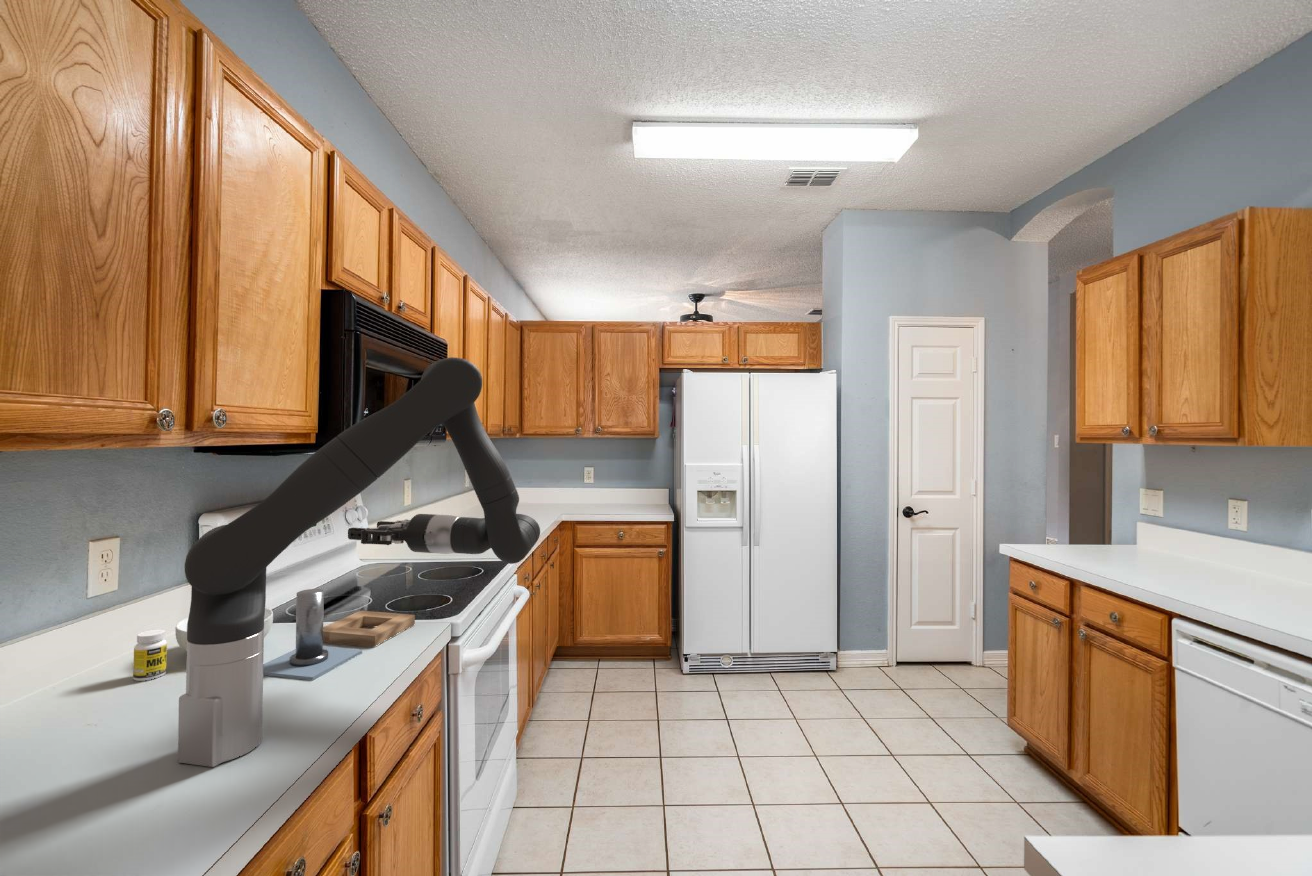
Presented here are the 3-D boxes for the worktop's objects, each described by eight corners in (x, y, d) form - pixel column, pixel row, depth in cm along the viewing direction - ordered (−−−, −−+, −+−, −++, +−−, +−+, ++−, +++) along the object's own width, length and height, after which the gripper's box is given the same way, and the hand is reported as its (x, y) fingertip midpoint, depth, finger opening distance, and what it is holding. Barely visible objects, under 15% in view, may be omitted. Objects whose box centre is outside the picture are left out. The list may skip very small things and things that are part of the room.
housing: (374, 647, 126) (375, 636, 126) (315, 641, 128) (315, 630, 128) (414, 625, 141) (414, 615, 141) (360, 620, 143) (360, 610, 143)
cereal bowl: (155, 658, 117) (155, 624, 117) (237, 632, 133) (237, 602, 133) (212, 671, 112) (212, 635, 112) (290, 642, 127) (291, 611, 127)
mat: (312, 680, 109) (312, 677, 109) (249, 673, 111) (249, 670, 111) (362, 652, 122) (362, 650, 122) (305, 647, 125) (305, 644, 125)
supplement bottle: (146, 683, 106) (147, 638, 106) (126, 680, 107) (127, 635, 107) (172, 672, 111) (173, 629, 111) (153, 670, 112) (154, 627, 112)
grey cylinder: (311, 668, 113) (312, 597, 113) (281, 665, 114) (282, 595, 114) (335, 655, 119) (337, 588, 119) (307, 652, 121) (308, 586, 121)
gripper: (456, 510, 119) (386, 506, 121) (417, 520, 105) (338, 516, 107) (456, 546, 119) (386, 541, 122) (416, 560, 105) (338, 555, 107)
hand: (363, 529), depth 114 cm, fingers open, 8 cm apart
